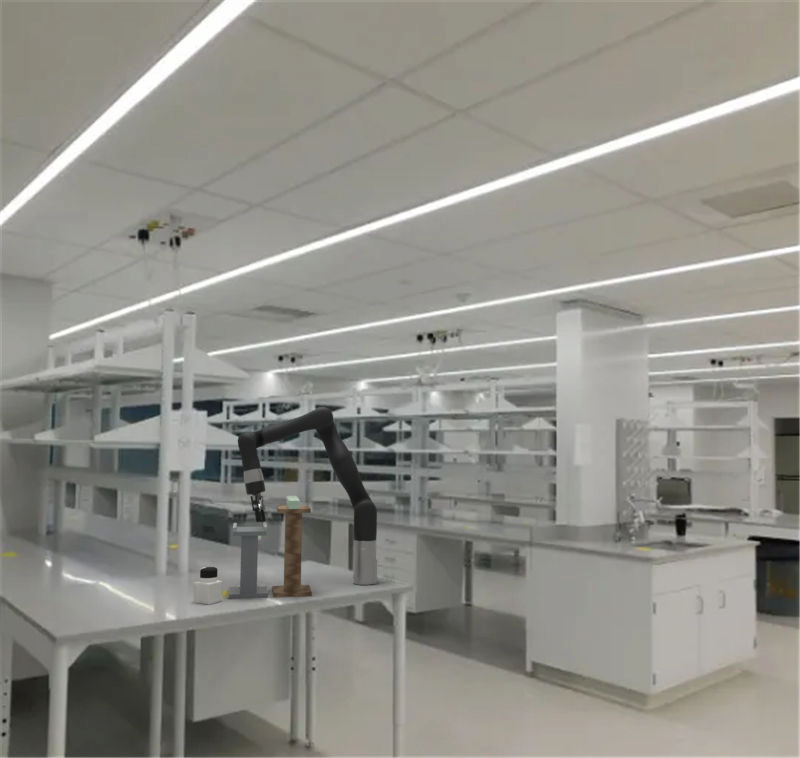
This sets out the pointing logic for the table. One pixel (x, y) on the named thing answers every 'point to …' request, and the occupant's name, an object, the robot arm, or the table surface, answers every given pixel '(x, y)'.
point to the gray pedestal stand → (249, 563)
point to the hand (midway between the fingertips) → (261, 521)
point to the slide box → (293, 502)
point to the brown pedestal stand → (292, 554)
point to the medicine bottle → (208, 587)
